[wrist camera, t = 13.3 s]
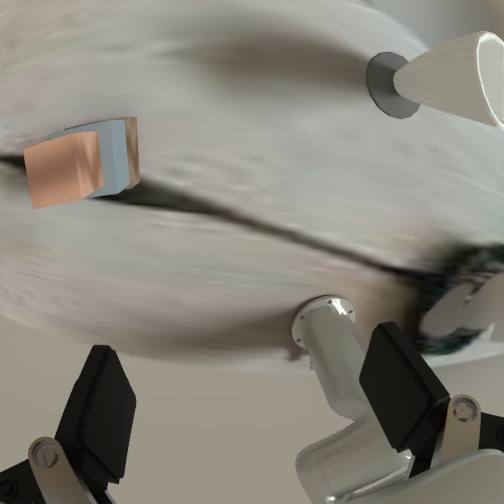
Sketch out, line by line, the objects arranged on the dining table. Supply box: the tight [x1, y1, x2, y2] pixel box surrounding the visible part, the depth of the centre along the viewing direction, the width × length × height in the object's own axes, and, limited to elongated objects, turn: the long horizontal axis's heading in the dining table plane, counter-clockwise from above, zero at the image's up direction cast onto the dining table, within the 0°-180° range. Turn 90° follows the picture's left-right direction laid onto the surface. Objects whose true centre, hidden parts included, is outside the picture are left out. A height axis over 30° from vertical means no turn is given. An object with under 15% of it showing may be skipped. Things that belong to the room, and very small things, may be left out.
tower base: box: [64, 117, 140, 189], centre depth 32 cm, size 9×9×5 cm
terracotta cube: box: [24, 131, 104, 209], centre depth 22 cm, size 6×6×6 cm
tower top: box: [50, 120, 130, 198], centre depth 27 cm, size 8×8×5 cm
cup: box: [367, 31, 504, 131], centre depth 24 cm, size 12×12×22 cm
